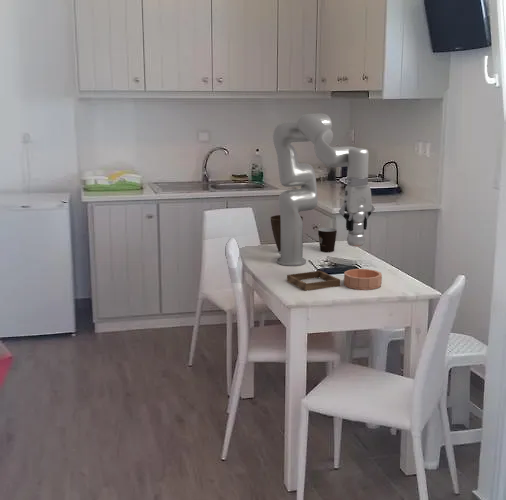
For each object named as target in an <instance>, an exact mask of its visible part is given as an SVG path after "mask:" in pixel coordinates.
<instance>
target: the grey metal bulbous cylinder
mask: <svg viewBox="0 0 506 500" xmlns="http://www.w3.org/2000/svg"><path fill="white" fill-rule="evenodd" d="M364 211H365V208H364V206H362V205H361V206H359V208H358V212H357V213H352V214H353V216H352V219H351V220H352V221H353V227H352V231H348V234H347V238H346V241H347V244H348V246H351V247H356V248H357V247H363V245H364V244H365V241H366V236H365V230H364V217H365V212H364ZM349 214H350V213H349Z"/></svg>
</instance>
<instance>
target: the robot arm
mask: <svg viewBox="0 0 506 500" xmlns="http://www.w3.org/2000/svg"><path fill="white" fill-rule="evenodd" d="M332 128H333V121H332V118H331V117H330V116H329V115H328V114H326V113H319V112H318V113H305V114H302V115H301V116H300V117H298V118H297V120H296V121H285V122H281V123H278V124H277V125H276V126H275V128H274V130H273V134H272V140H273V141H272V142H273V147H274V149H275V152H276V156H277V158H276V159H277V168H278V177H279V182H280V184H281V185H282V186H283V187H285V188H286V187H291V188H292V187H300V188H295V189H290V190H289V189H288V190H287V189H286V190H284V191H282V192H281V193H280V194H279V196H278V199H277V201H278V209H279V215H280V218H281V251H280V252H279V251H278V254H279V255H280V257H278V258H277V259H276V263H277V264H279V265H281V266H287V267H289V266H290V267H292V266H293V267H294V266H302V265H305V264H306V263H307V259H306V258H304V257H303V249H304V248H303V247H304V244H303V243H304V235H303V233H304V223H303V222H304V221H302V219H301V217H300V216H301V215H300V212H304V211H305V212H307V211H313V210H314V209H315V208H317V206H318V203H319V197H318V188H317V187H318V185H317V177H316V171H315V169H314V167H313V165H311V164H309V163H307V162H303V163H302V162H300V163H299V158H298V153H297V150H296V148H295V147H294V145H293V144H292V143H305V142H311V143H312V144H313V147H314V153H315V156H316V157H317V159H318V160H319V161H320V162H321V163H322V164H324V165H325V166H326V167H328V168H345V167H347V177H346V179H345V180H344V184H346V185H345V189H344V192H343V193H344V194H343V202H342V204H343V205H342V206H341V208H339V210H338V213H339V214H340V215H341V216H342V217H343V218H344V219H345V228H346V231H348V232H349V231H352V227H353V221H352V220H351V219H352V216H353V214H352V213H357V212H358V208H359V206H361V205H362V206H364V208H365V211H364V212H365V217H364V231H366V230H367V228H368V227H367V226H368V219H370V216H371V215H372V213H373V212H374V211H375V207H374V206H373V203H372V201H373V200H372V189H371V186H370V185H369V159H370V158H369V153H370V152H369V150H368V149H367V148H362V147H355V146H351V145H350V146H348V145H347V146H330V144H331V143H332V141H333V139H334V132H333V130H332ZM349 213H350V214H349Z"/></svg>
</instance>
